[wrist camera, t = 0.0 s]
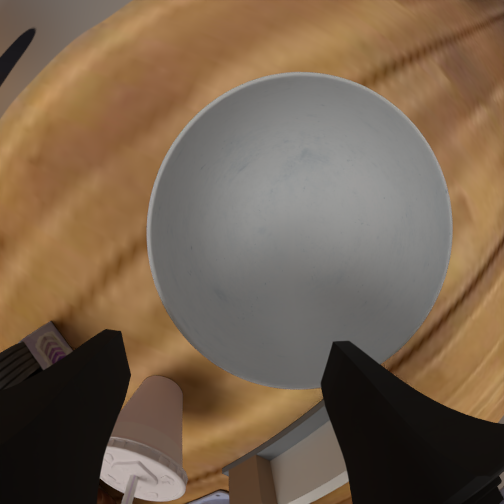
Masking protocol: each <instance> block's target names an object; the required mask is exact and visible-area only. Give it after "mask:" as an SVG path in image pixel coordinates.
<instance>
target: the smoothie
mask: <svg viewBox="0 0 504 504" xmlns="http://www.w3.org/2000/svg"><path fill="white" fill-rule="evenodd" d="M182 410H183V393H182V390H181V389H180V387H179V386H178V385H177V384H176V383H175V382H174V381H172V380H171V379H169V378H166V377H163V376H151V377H148V378H146V379H145V380H144V381H143V382H142V384H141V385H140V386H139V388H138V389H137V390H136V392H135V393H134V394H133V396H132V397H131V398H130V400H129V401H128V402H127V404H126V405H125V406H124V408H123V409H122V410H121V412H120V413H119V416H118V418H117V421H116V423H115V426H114V428H113V431H112V434H111V436H110V439H109V442H108V445H107V448H106V451H105V454H104V459H103V464H102V469H101V474H100V479H101V480H103V481H104V482H105V483H107V484H108V485H110V486H111V487H113V488H115V489H116V490H118V491H120V492H122V493H124V496H123V499H122V503H121V504H132V502H133V498H134V497H136V498H139V499H144V500H149V501H161V502H162V501H171V500H175V499H178V498H180V497H181V496H182V495H183V494H184V493H185V489H186V484H187V480H188V478H187V474H186V472H185V471H184V469H183V468H182Z"/></svg>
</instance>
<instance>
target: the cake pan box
mask: <svg viewBox="0 0 504 504" xmlns="http://www.w3.org/2000/svg"><path fill="white" fill-rule="evenodd" d="M72 351H73V350H72V348H71V347H70V346H69V345H68V343H67V342H66V341H65V339H64V338H63V337H62V335H61V334H60V332H59V331H58V330H57V328H56V327H55V326H54V324H53V323H52V322H51V321H50V322H48V323H46V324H45V325H43V326H42V327H40V328H38V329H37V330H35V331H34V332H32V333H31V334H29V335H28V336H26V337H25V338H23V339H22V340H21V341H20V342H19V343H18V344H15V345H13V346H11V347H10V348H8V349H6V350H4V351H3V352H1V353H0V391H2V390H4V389H7V388H9V387H12V386H14V385H16V384H19V383H21V382H23V381H25V380H27V379H29V378H31V377H32V376H34V375H36V374H38V373H40V372H41V371H43V370H45V369H46V368H48V367H49V366H51V365H53V364H54V363H56V362H57V361H59V360H61V359H62V358H64V357H65V356H66V355H68V354H69V353H71V352H72Z"/></svg>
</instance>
